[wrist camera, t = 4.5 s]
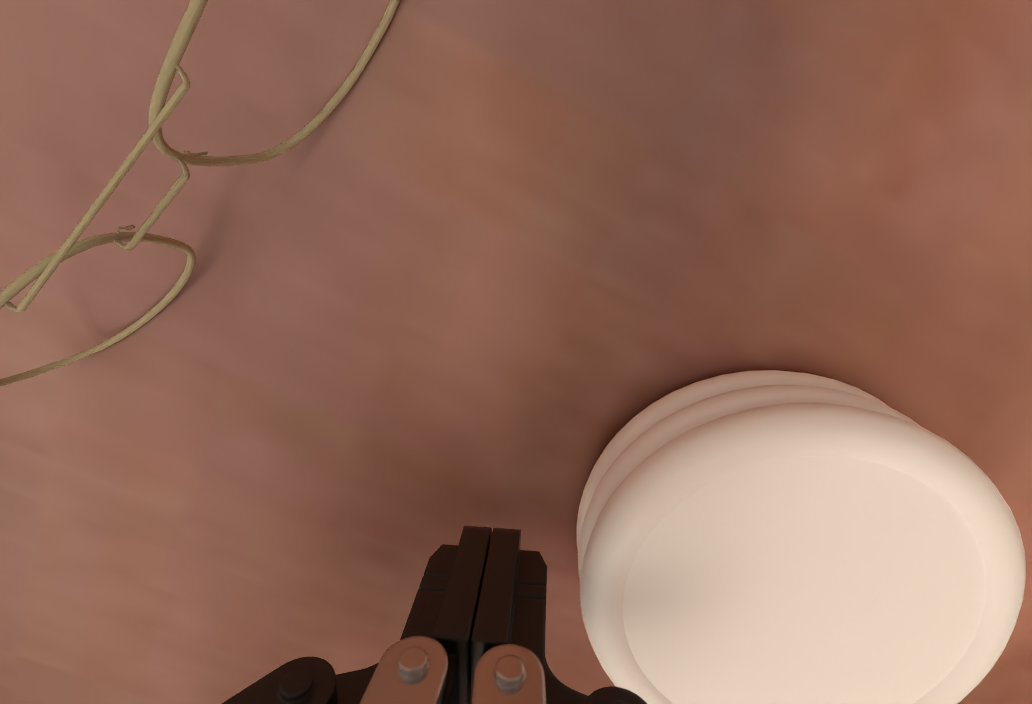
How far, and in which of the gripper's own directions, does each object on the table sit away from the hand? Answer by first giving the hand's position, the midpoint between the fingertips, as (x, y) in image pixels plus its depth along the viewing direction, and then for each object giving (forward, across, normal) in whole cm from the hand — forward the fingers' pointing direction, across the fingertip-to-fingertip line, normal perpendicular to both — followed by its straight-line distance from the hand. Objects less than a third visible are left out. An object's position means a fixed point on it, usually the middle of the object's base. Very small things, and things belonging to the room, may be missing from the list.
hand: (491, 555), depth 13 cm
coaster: (+2, -7, 0) cm, 8 cm away
